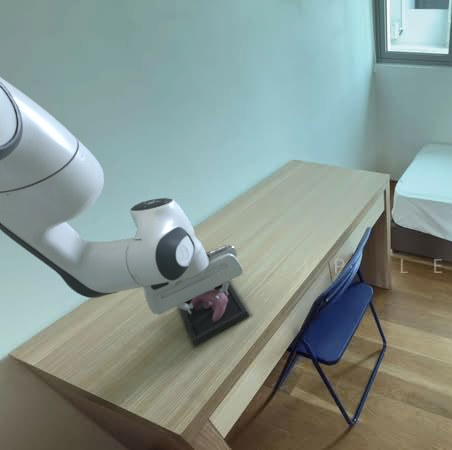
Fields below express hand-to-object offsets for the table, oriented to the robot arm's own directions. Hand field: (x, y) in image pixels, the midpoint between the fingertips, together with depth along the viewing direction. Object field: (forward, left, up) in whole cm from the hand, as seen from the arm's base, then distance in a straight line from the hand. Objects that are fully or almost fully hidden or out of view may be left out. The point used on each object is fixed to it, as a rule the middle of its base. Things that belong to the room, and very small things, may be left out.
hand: (209, 302), depth 78 cm
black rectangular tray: (0, 0, -3) cm, 3 cm away
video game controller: (0, 0, -3) cm, 3 cm away
